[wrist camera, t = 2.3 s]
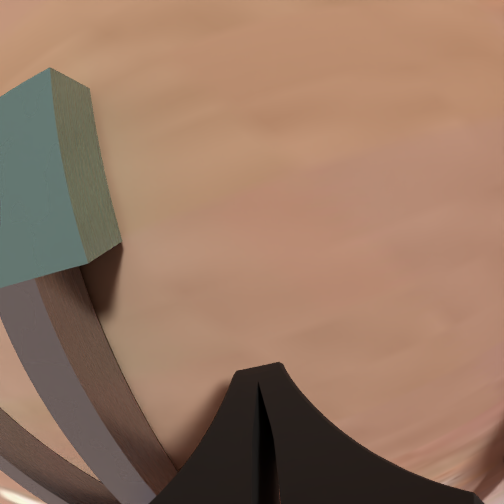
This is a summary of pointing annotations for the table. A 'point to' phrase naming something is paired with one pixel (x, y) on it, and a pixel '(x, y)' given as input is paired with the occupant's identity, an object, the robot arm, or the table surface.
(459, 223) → the table surface
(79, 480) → the tong fixed arm
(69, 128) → the tong free arm
